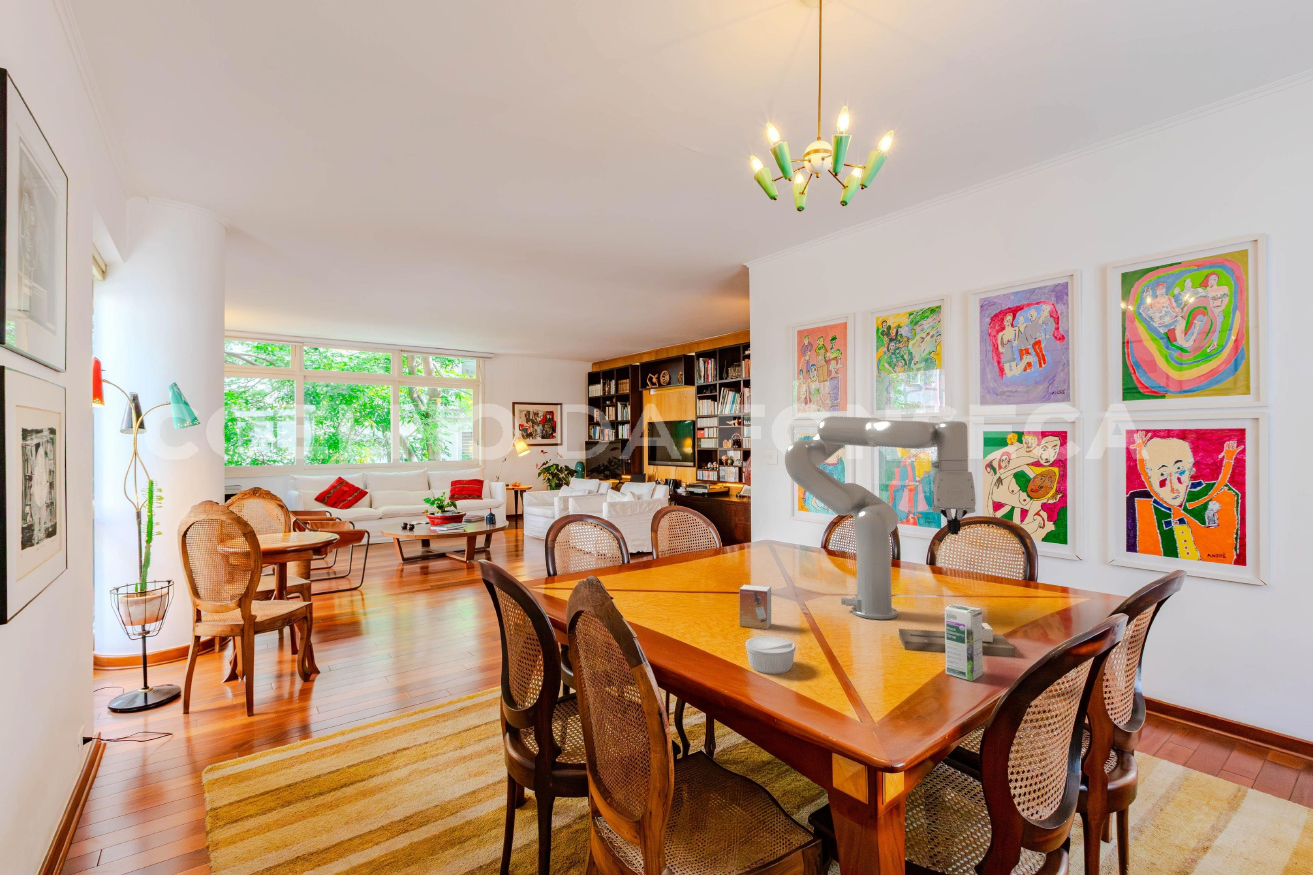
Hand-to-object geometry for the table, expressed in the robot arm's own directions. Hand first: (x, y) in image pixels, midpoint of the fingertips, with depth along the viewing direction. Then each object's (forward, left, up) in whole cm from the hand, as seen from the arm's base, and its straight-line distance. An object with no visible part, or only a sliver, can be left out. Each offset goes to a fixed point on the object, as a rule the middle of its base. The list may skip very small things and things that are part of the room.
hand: (953, 533), depth 163 cm
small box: (-53, -10, -25) cm, 60 cm away
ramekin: (-47, -40, -25) cm, 67 cm away
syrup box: (-6, -36, -25) cm, 44 cm away
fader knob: (+2, -17, -23) cm, 28 cm away
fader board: (-4, -17, -25) cm, 31 cm away
